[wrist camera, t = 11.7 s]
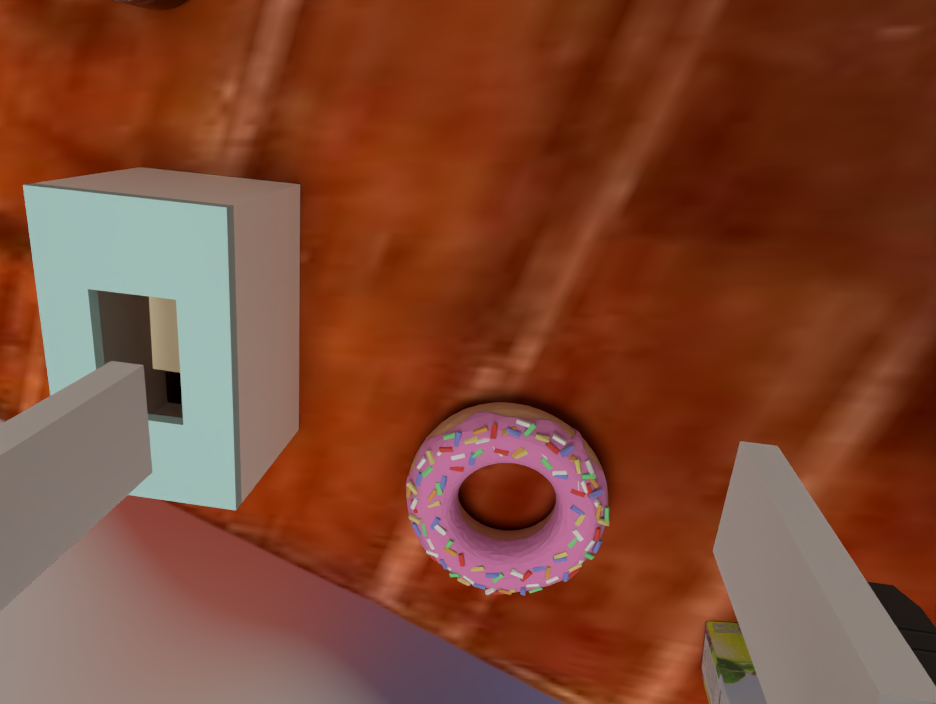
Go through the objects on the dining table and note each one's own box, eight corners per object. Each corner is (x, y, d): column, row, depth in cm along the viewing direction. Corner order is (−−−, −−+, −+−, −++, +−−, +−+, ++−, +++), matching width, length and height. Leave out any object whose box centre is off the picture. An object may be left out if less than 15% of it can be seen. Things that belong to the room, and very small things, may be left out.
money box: (300, 184, 45) (226, 207, 35) (298, 429, 52) (236, 510, 41) (140, 167, 46) (22, 184, 36) (158, 410, 52) (62, 485, 42)
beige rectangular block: (244, 272, 48) (196, 298, 41) (245, 339, 50) (198, 375, 43) (203, 266, 48) (148, 292, 42) (205, 334, 50) (152, 368, 43)
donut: (496, 591, 55) (491, 637, 50) (375, 464, 52) (358, 499, 47) (646, 497, 50) (656, 537, 46) (523, 353, 48) (520, 380, 43)
